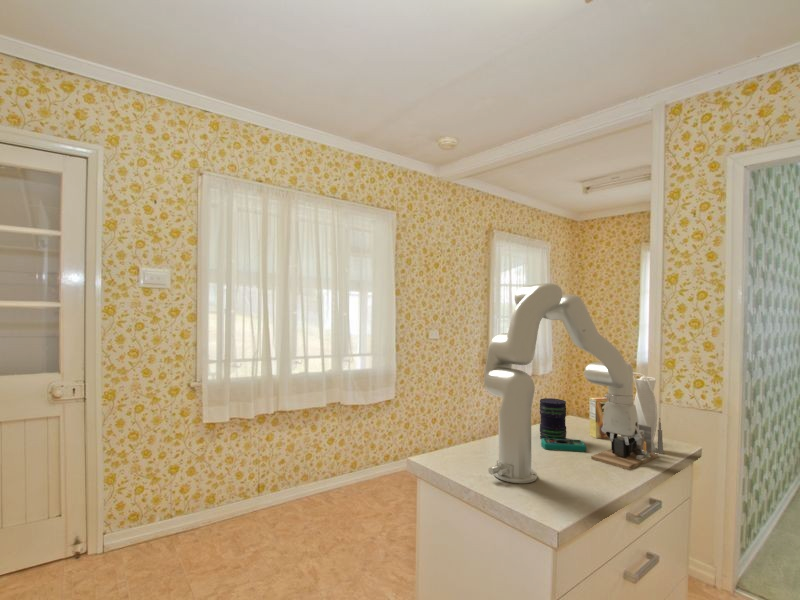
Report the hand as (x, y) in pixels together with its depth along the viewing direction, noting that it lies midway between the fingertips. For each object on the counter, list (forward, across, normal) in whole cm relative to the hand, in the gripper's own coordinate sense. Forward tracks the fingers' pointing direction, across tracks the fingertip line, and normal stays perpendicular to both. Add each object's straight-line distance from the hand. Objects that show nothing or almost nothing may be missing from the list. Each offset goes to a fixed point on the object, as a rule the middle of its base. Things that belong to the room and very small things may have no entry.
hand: (621, 454), depth 140 cm
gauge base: (+2, 0, +2) cm, 3 cm away
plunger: (0, +1, +5) cm, 5 cm away
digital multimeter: (+3, -19, -5) cm, 19 cm away
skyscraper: (+2, 0, +18) cm, 19 cm away
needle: (0, +5, +6) cm, 7 cm away
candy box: (+2, -18, +22) cm, 28 cm away
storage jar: (+2, -27, +2) cm, 27 cm away
